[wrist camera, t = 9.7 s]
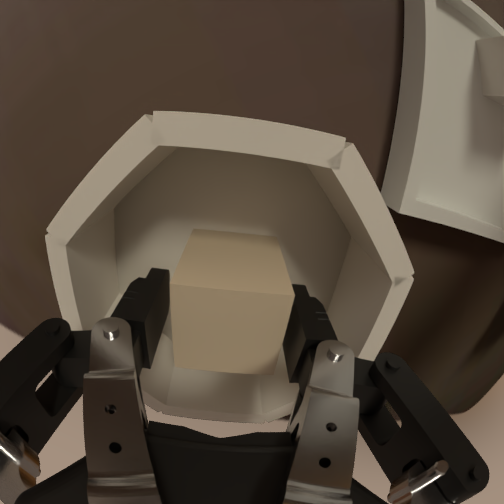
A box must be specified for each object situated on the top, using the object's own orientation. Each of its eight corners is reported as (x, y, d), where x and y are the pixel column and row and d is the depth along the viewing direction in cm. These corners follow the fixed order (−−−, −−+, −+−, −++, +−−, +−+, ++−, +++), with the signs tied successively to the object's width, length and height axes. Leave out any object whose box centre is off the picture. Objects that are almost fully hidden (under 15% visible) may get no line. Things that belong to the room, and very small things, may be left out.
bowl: (381, 153, 12) (447, 172, 8) (317, 358, 18) (335, 420, 13) (107, 117, 11) (41, 118, 6) (118, 337, 17) (92, 397, 12)
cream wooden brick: (276, 236, 13) (294, 295, 9) (264, 304, 15) (273, 374, 10) (193, 228, 13) (169, 283, 8) (191, 297, 15) (174, 366, 10)
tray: (532, 81, 9) (549, 83, 7) (509, 240, 15) (525, 250, 13) (403, -22, 7) (421, -33, 5) (378, 200, 14) (399, 212, 12)
